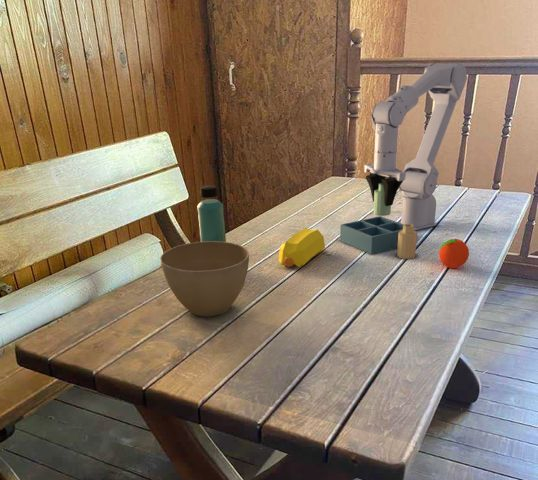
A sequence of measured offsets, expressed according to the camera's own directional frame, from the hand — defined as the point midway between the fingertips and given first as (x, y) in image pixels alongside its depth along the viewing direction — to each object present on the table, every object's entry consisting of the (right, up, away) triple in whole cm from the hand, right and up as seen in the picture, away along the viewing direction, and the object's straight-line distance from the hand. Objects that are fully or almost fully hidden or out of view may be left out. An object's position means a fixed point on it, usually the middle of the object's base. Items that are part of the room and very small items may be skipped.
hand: (382, 203), depth 158 cm
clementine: (+13, -20, -17) cm, 30 cm away
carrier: (-2, -10, +1) cm, 11 cm away
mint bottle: (0, -2, +1) cm, 3 cm away
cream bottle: (+4, -16, -9) cm, 19 cm away
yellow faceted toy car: (-22, -17, -8) cm, 29 cm away
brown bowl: (-44, -31, -33) cm, 63 cm away
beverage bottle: (-45, -19, -11) cm, 49 cm away
